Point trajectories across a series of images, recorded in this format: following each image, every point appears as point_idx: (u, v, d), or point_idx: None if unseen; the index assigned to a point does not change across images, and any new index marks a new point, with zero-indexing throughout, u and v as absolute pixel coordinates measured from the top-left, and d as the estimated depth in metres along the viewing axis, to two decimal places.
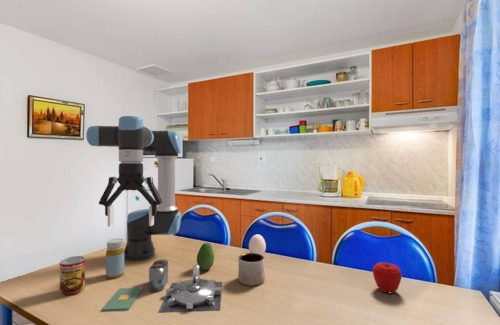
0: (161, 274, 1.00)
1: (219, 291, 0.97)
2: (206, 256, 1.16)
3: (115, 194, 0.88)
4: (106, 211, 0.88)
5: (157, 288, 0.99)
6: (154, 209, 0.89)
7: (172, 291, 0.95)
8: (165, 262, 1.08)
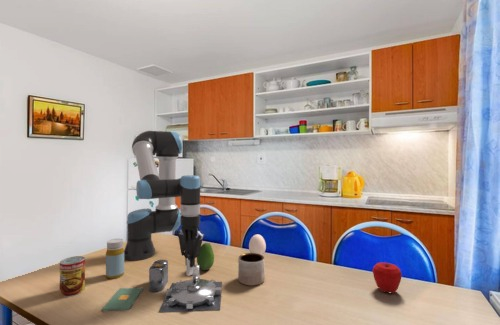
0: (161, 274, 1.00)
1: (219, 291, 0.97)
2: (206, 256, 1.16)
3: (185, 244, 1.04)
4: None
5: (157, 288, 0.99)
6: (191, 261, 1.03)
7: (172, 291, 0.95)
8: (165, 262, 1.08)
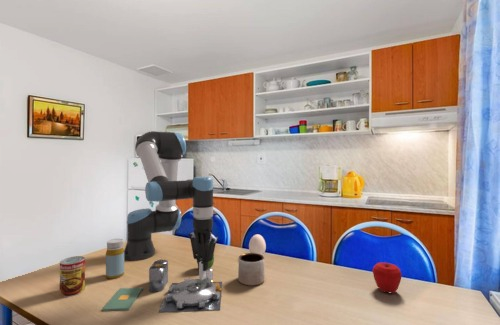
0: (161, 274, 1.00)
1: (198, 304, 0.88)
2: None
3: (198, 248, 1.01)
4: (198, 265, 1.01)
5: (157, 288, 0.99)
6: (204, 265, 1.00)
7: (184, 281, 1.03)
8: (165, 262, 1.08)
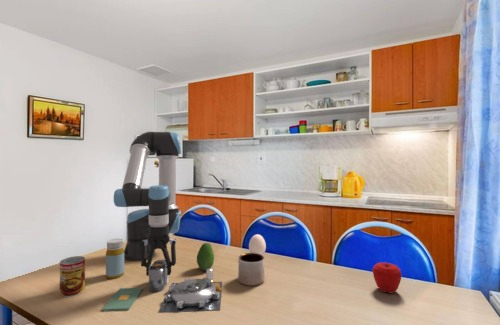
0: (161, 274, 1.00)
1: (198, 304, 0.88)
2: (206, 256, 1.16)
3: (151, 255, 1.03)
4: (147, 271, 1.04)
5: (157, 288, 0.99)
6: (169, 269, 1.04)
7: (184, 281, 1.03)
8: (165, 262, 1.08)
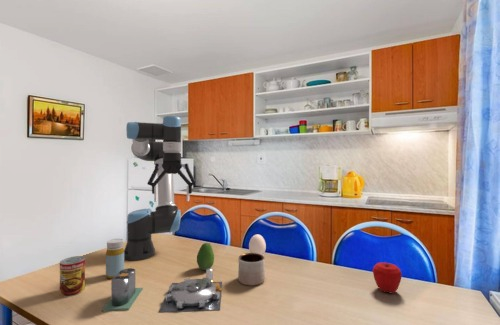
0: (125, 285, 0.90)
1: (198, 304, 0.88)
2: (206, 256, 1.16)
3: (160, 177, 1.13)
4: (153, 190, 1.13)
5: (120, 301, 0.89)
6: (190, 188, 1.15)
7: (184, 281, 1.03)
8: (132, 271, 0.97)
